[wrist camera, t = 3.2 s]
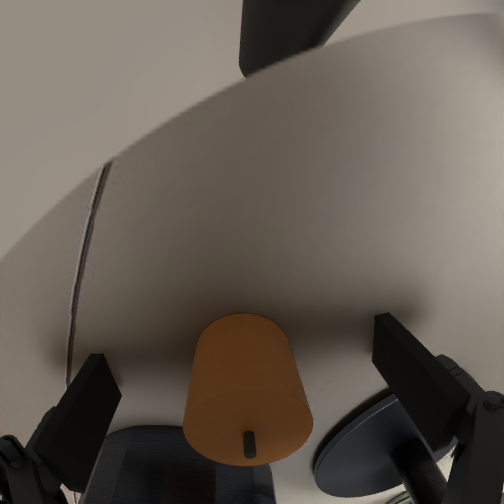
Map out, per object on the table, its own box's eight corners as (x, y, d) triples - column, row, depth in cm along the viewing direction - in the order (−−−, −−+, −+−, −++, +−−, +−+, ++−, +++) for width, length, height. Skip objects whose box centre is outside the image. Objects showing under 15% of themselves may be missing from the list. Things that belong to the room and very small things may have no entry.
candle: (186, 319, 13) (160, 417, 7) (285, 305, 13) (320, 398, 7) (206, 392, 14) (199, 489, 8) (292, 381, 14) (318, 475, 8)
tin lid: (311, 403, 15) (364, 567, 5) (492, 341, 15) (580, 420, 5) (311, 500, 18) (333, 593, 9) (446, 453, 19) (489, 523, 9)
